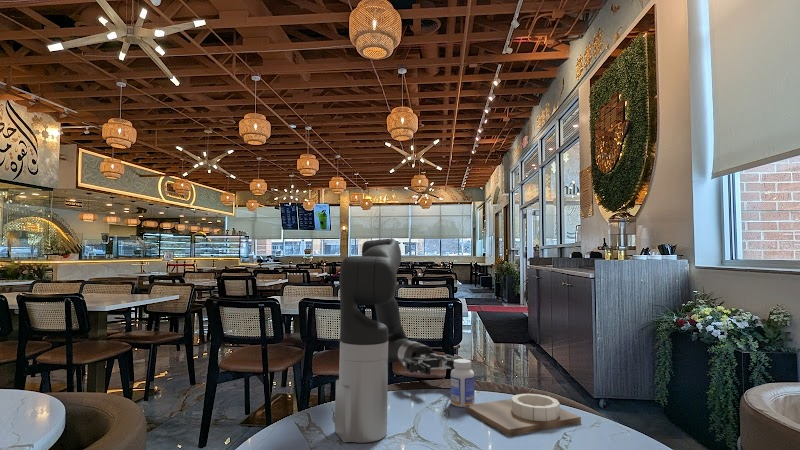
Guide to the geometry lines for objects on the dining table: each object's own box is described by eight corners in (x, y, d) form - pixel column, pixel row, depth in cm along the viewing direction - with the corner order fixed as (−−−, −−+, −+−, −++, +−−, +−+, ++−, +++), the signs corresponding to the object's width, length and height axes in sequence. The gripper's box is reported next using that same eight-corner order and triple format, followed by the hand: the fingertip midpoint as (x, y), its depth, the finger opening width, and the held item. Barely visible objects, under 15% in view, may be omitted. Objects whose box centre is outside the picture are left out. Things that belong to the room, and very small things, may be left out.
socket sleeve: (532, 423, 87) (532, 410, 87) (502, 408, 96) (502, 396, 96) (569, 417, 91) (569, 404, 91) (537, 403, 99) (537, 391, 100)
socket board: (509, 436, 84) (509, 429, 84) (465, 411, 97) (465, 405, 97) (580, 423, 91) (580, 416, 91) (531, 401, 105) (531, 396, 105)
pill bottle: (473, 400, 105) (473, 358, 105) (475, 408, 99) (475, 363, 100) (450, 399, 105) (450, 357, 106) (450, 407, 100) (450, 362, 101)
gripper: (392, 344, 122) (419, 355, 107) (438, 341, 128) (469, 351, 113) (392, 372, 122) (418, 387, 107) (437, 367, 127) (469, 382, 113)
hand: (444, 369), depth 110 cm, fingers open, 8 cm apart
